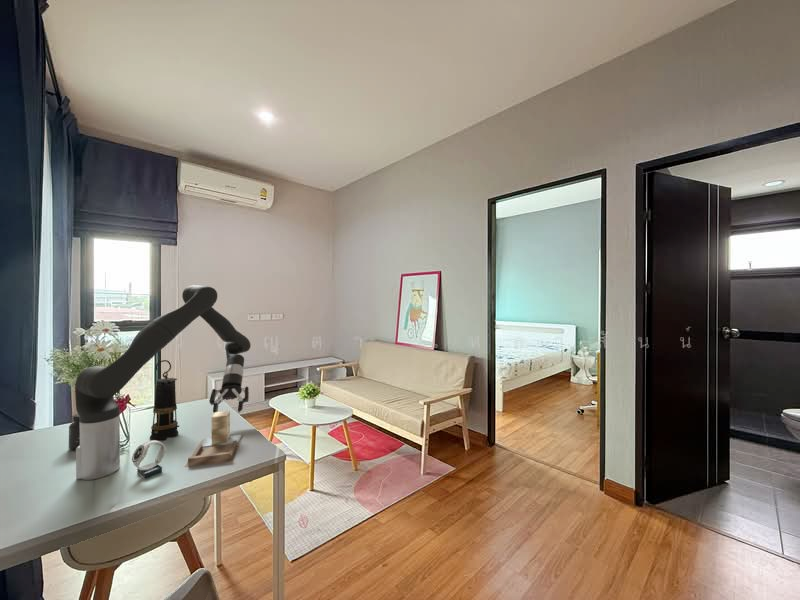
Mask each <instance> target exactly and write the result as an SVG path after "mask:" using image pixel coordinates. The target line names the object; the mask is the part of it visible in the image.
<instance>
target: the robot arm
mask: <svg viewBox="0 0 800 600" xmlns="http://www.w3.org/2000/svg"><path fill="white" fill-rule="evenodd" d="M217 300H218V291H217V290H216V289H215V288H214V287H212V286H208V285H198V284H195V285H194V284H193V285H189V286H187V287H185V288H184V290H183V291H182V301H183V302H184V304H183V305H181V306H179V307H178V308H175V309H173V310H171V311H169V312H166V313H164V314H162V315H160V316H158V317H156V318H155V319H153V320H151V321H150V322H149V323H148V324H147V325H145V326H144V327H143V328H142V329H141V330H139V331H138V333H137V334H136V335H135V337H134V338H133V340H132V342H131V343H130V345H129V347H128V348H127V350H126V351H124V353H123V354H122V355H120V356H119V357H118V358H116V359H115V360H114V361H113V362H112V363H110V364H108V365H107V366H104V365H103V366H102V365H101V366H100V365H95V366H90V367H88V368H86V369H84V370H82V371H81V372H80V373H79V374H78V375H77V377H76V380H75V386H74V395H75V409H76V414H78V415H79V419H80V446H78V447H77V448H76V451H75V479H76V480H79V479H80V480H85V481H88V480H89V481H90V480H91V481H92V480H96V479H100V478H104V477H107V476H109V475H112V474H114V473H115V472H117V470H119V469H120V467H121V451H120V450H121V446H120V445H121V444H120V443H121V441H120V440H121V437H120V436H121V434H120V424H121V423H120V421H121V420H120V419H121V417H120V411H121V410H120V406H119V404H118V403H117V402H116V401H115V399H114V396H115V395H116V394H118V393H119V392H120V391H121V390H122V389H124V388H125V386H126V385H127V384H128V383H129V382H130V381H131V379H132V378H133V377H134V376H136V374H137V373H138V372H139V371H140V370H141V369H142V368H143V367H144V366H145V365H146V364H147V363H148V362H149V361H150V360H151V359H153V358H154V357H155V356H156V355H157V354H158V353H159V352H160V351H161V350H163V349H164V348H165V347H166V346H167V345H168V344H169V343H171V342H172V341H173V340H174V339H175V338H176V337H177V336H178V335H179V334H180V333H181V332H182V331H183V330H184V329H185V328H187V327H188V326H189V325H190V324H191V323H193V322H194V320H196V319H197V318H199V317H200V318H202V319H203V320H204V321H205V322H206V324H208V326H209V327H211V328H212V329H213V330H214V332H215V334H217V335H218V337H219V338H220V339H221V340H222V341H223V342H225V343H226V344H225V346H224V347H225V348H224V349H225V354H226V355H225V356H226V364H225V369H224V373H223V377H222V383H221V388H220V389H216V388H213V389H212V390H211V395H210V397H209V404H210V406H213V407H212V408H213V409H212V412H213V414H214V413H215V412H219V405H220V404H222V402H224V401H225V400H226V401H228V400H235V399H236V400H237V401H238V407H237V411H238V412H237V413H241V411H243V407H244V404H245V403H248V402H249V398H250V397H249V395H250V390H249V386H245V387H243V388H242V384H243V378H244V365H245V357H244V356H243V355H241V354H243V353H246V352H248V351H250V349H251V341H250V340H249V338H248V337H247V336H246V335H244V334H243V333H241V332H239V331H238V330H237V329H236V328H235V327H234V325H233V324H232V323H231V321H230V320H229V319H228V318H226V316H223V315H222V314H221V313H220V312H219V311H217V310H216V309H215V308H214V305H215V304H216V302H217ZM242 392H243V394H244V398H242V396H241V395H240V394H241V393H242ZM218 395H219V396H218ZM216 396H218V397H217V398H216Z"/></svg>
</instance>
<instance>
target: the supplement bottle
mask: <svg viewBox="0 0 800 600" xmlns="http://www.w3.org/2000/svg"><path fill="white" fill-rule="evenodd" d="M78 446H80V419H79V415H78V413H76V414H74V415H72V422H71V423H70V424H69V426H68V450H69V451H71V452H72V451H73V452H76V448H77V447H78Z"/></svg>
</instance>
